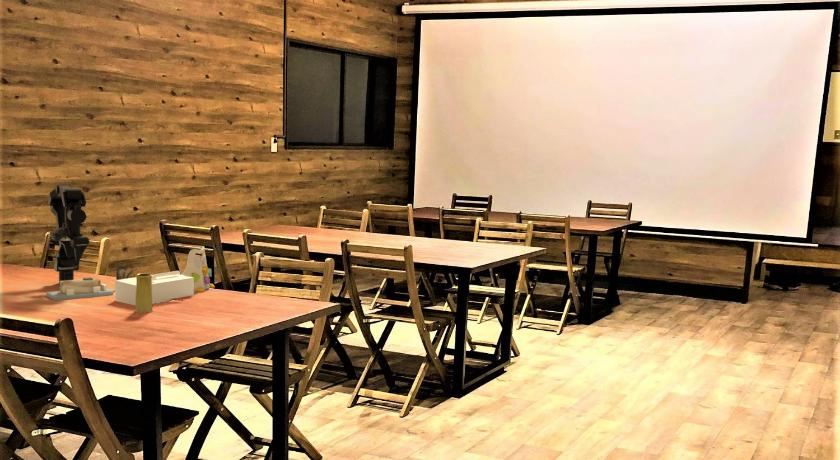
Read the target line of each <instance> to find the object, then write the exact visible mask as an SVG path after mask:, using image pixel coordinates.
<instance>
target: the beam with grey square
mask: <svg viewBox="0 0 840 460" xmlns="http://www.w3.org/2000/svg"><path fill="white" fill-rule="evenodd" d="M101 281H102V280H101V279H98V278H94V277H83V278H79V279H74V280H66V281H60V284H59V291H60V293H62V294H64V295H65V294H66V290H67V289H74V293H84V292H93V287H97V286H99V287H100V289H101V283H102V282H101Z"/></svg>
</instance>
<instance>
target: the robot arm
mask: <svg viewBox="0 0 840 460" xmlns="http://www.w3.org/2000/svg"><path fill="white" fill-rule="evenodd" d="M47 199H48V200H47V202H48V204H47V205H48V206H49V209H50V212H51V213H52V214H53V215H54V216H55V222H56V229H54V230H50V231H49V236H50V238H51V240H52V241H55V242H57V241H58V244H59V249H58V251H57V253H56V256H55V259H54V264H53V268H54V269H53V270H54V271H55V272H56V273H58V285H60V281H66V280H75V271H79V270H80V261H81V259H82V256H83V255H84V253H85V250H86V248H87V247H88V246H89V245H90V244H91V243H90V242H91V241H90V238H89V237H87V236H84V235H83V233H82V232H81V231H82V228H81V227H83V223H84V222H85V221H86V219H87V214H86V212H85V211H84V210H83V209H82V208H86V204H87V200H86V196H85V194H84V192H83V191H82V189H81V188H72V187H71V186H70V185H68V184H56V185H55V188H54V189H52V190H51V191H50V192H49V193H48V197H47Z"/></svg>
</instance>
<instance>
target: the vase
mask: <svg viewBox="0 0 840 460" xmlns="http://www.w3.org/2000/svg"><path fill="white" fill-rule="evenodd" d="M152 275H153V274H151V273H144V272H143V273H138V274H136V276H135V277H136V306H135V305H134V308H135V313H138V312H142V313H141V314H145V313H144V312H148V313H152V312H153V304H152ZM151 311H152V312H151Z"/></svg>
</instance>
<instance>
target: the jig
mask: <svg viewBox="0 0 840 460" xmlns="http://www.w3.org/2000/svg"><path fill="white" fill-rule="evenodd" d="M45 295H46V296H45V297H46V298H49V299H52V300H53V301H63V300H65V301H66V300H73V299H74V300H75V299H85V298H94V297H104V296H105V297H106V296H113V295H114V290H112V289H109V288H108V284H105V283H102V282H101V289H100V287H99V286H97V287H93V292H84V293H74V289H67V290H66V294H65V295H64V294H62V293H60V290H58V291H57V290H56V291H45Z"/></svg>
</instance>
